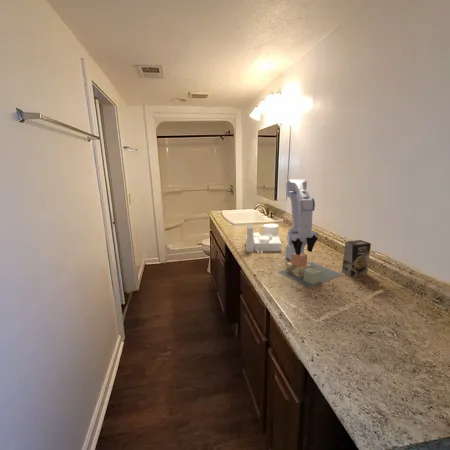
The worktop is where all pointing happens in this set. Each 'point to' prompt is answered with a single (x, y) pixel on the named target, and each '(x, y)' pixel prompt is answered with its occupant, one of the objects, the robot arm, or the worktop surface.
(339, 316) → the worktop surface
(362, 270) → the coffee box
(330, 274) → the slate mat
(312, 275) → the sage cube
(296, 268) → the birch slab
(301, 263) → the terracotta cube
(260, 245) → the power plant
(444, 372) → the worktop surface
